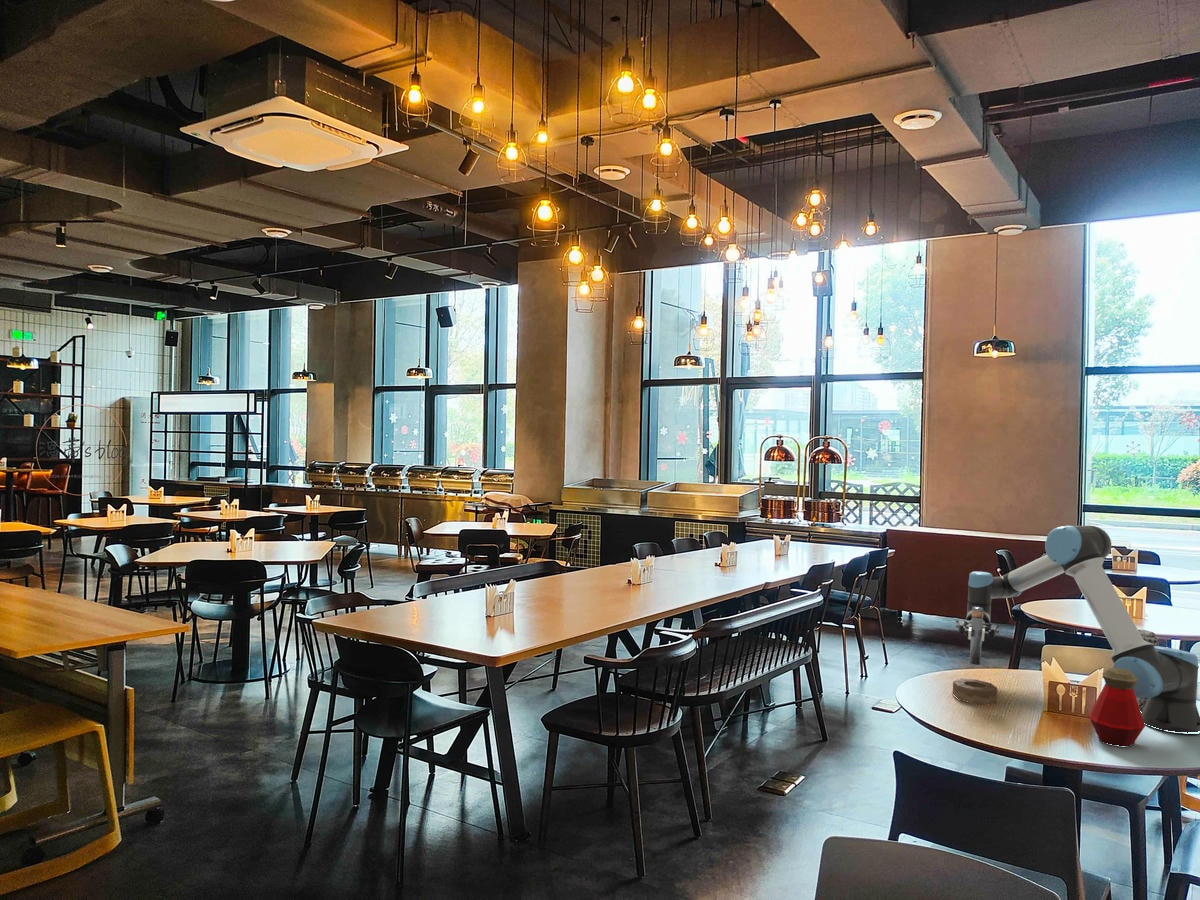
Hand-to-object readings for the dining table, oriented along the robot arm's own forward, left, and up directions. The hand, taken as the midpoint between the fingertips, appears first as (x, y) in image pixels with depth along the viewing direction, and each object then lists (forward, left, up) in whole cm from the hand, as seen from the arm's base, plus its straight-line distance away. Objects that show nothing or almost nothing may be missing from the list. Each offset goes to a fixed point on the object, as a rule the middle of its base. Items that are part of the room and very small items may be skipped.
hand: (976, 636), depth 265 cm
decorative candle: (+4, -52, -21) cm, 56 cm away
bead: (+5, -2, -21) cm, 22 cm away
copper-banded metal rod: (+5, -2, -10) cm, 11 cm away
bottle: (-28, -29, -21) cm, 46 cm away
